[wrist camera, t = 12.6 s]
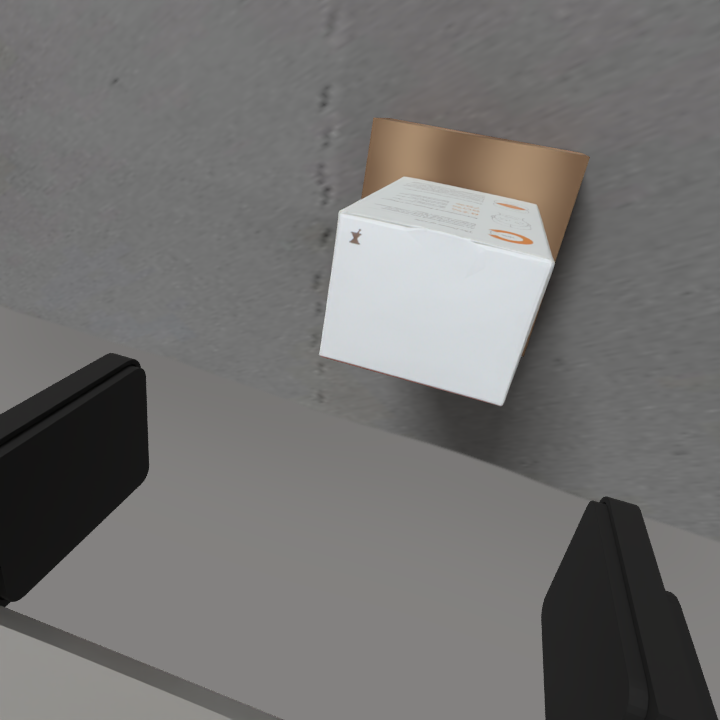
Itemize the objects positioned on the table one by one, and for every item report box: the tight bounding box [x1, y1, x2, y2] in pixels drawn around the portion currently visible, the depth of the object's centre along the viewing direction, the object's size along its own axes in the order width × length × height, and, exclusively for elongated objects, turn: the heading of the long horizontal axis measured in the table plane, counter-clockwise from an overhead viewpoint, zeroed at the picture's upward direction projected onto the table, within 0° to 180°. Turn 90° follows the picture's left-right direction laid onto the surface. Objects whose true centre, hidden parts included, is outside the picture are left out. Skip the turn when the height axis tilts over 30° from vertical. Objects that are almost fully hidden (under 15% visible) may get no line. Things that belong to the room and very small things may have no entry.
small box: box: [319, 177, 555, 407], centre depth 26 cm, size 8×6×13 cm
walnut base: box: [361, 118, 590, 357], centre depth 33 cm, size 12×12×4 cm
